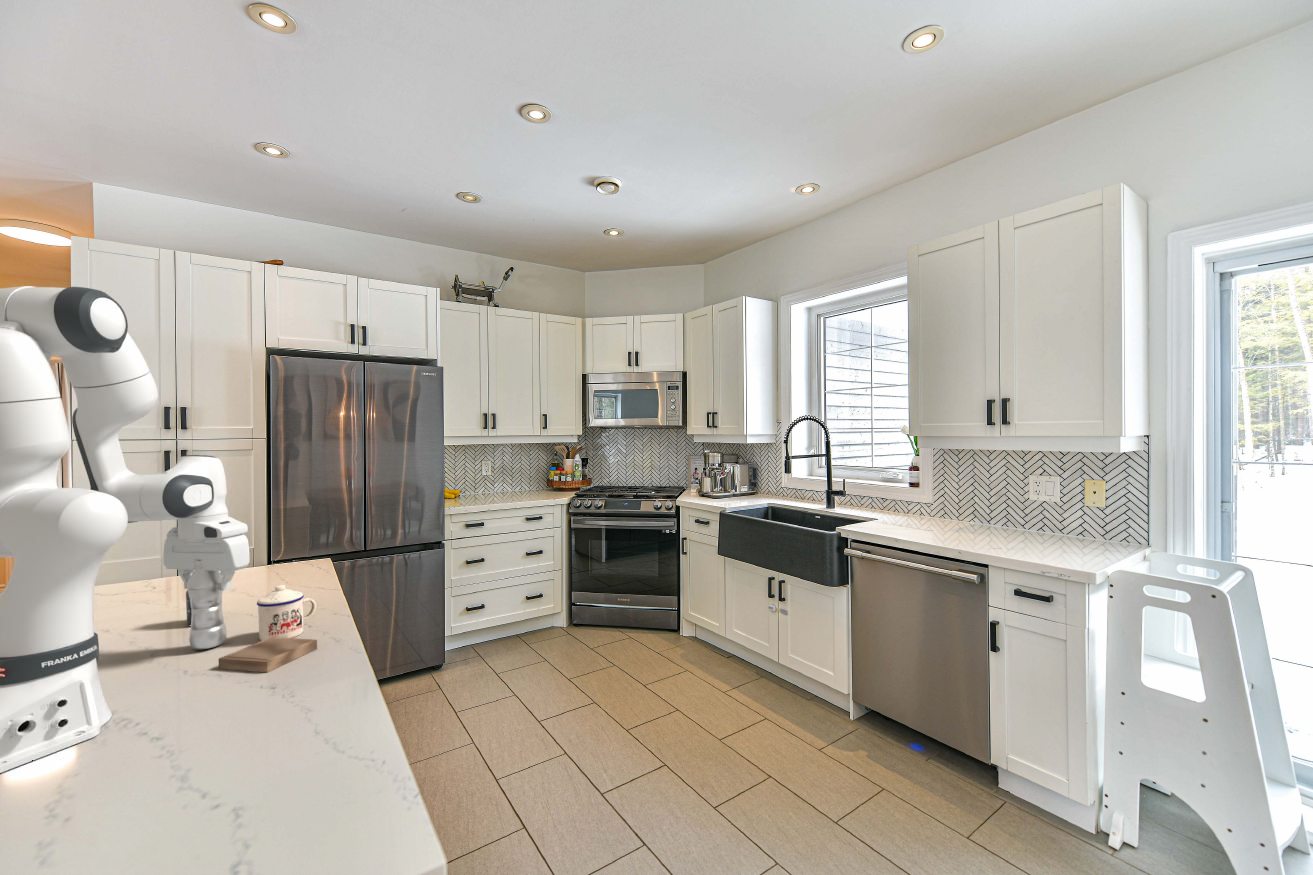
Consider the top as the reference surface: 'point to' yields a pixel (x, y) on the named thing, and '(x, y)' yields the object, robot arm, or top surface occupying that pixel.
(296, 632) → the teacup with lid
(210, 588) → the plastic bottle
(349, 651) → the top surface
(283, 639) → the display stand
